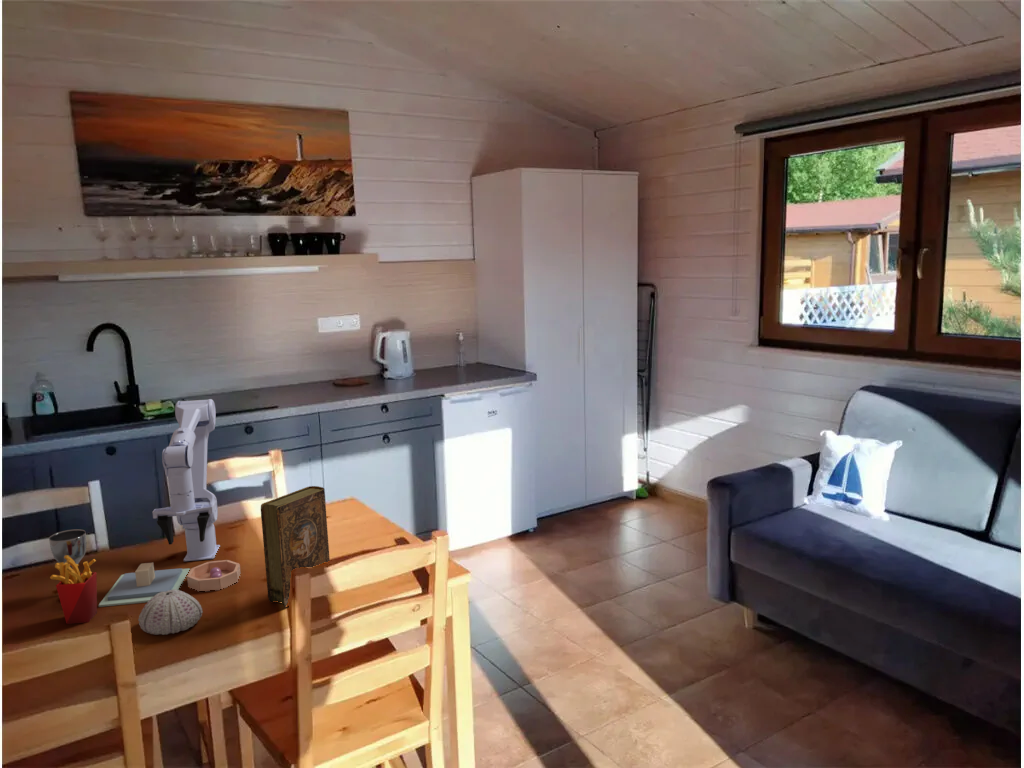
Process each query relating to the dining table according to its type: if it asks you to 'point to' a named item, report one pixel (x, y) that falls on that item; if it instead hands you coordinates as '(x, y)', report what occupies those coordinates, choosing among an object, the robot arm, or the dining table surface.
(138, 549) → the dining table surface
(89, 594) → the french fries
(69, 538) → the silver goblet
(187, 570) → the mat
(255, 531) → the dining table surface
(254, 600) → the dining table surface
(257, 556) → the dining table surface
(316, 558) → the book
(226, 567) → the bowl
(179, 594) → the sea urchin shell
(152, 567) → the lid
